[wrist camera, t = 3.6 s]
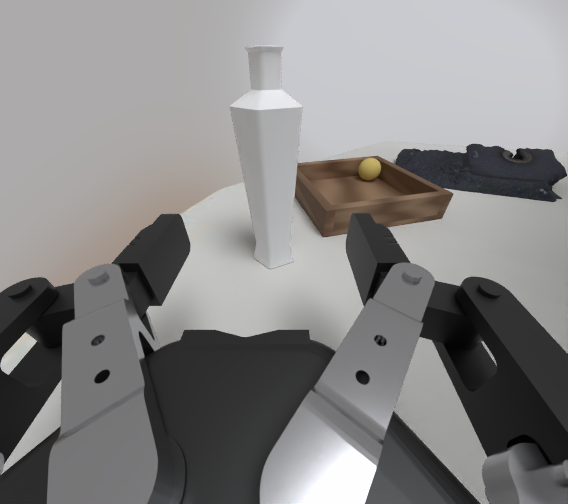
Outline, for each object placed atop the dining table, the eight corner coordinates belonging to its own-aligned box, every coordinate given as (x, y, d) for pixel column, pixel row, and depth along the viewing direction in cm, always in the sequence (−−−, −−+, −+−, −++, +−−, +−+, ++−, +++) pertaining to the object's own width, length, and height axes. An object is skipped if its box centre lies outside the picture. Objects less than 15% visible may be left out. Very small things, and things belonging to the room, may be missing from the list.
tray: (373, 175, 39) (377, 155, 37) (441, 218, 27) (453, 193, 25) (287, 184, 36) (286, 164, 34) (323, 237, 24) (326, 210, 23)
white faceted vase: (309, 254, 22) (324, 46, 13) (275, 277, 20) (264, 41, 11) (276, 235, 25) (270, 51, 16) (243, 253, 22) (212, 48, 13)
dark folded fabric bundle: (394, 158, 48) (401, 133, 45) (526, 170, 41) (544, 142, 38) (392, 186, 36) (401, 154, 34) (573, 208, 30) (604, 172, 27)
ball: (371, 175, 37) (375, 154, 35) (382, 182, 35) (388, 160, 33) (352, 177, 36) (356, 156, 34) (363, 184, 34) (367, 162, 32)
